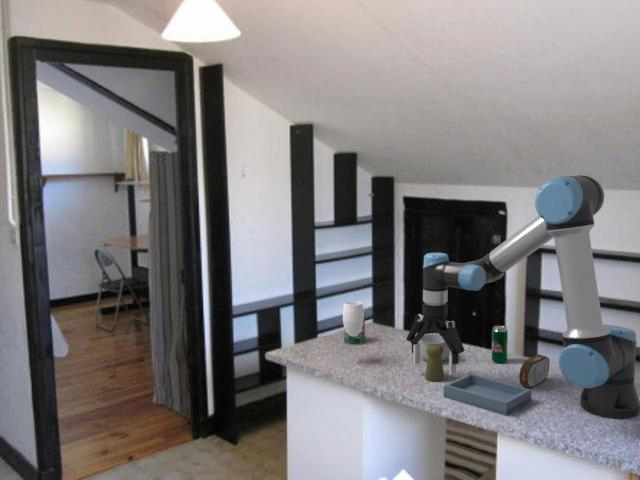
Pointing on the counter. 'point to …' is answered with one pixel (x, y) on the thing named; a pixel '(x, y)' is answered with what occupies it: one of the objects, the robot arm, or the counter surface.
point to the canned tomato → (357, 339)
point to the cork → (434, 363)
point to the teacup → (433, 339)
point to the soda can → (499, 344)
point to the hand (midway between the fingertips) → (434, 368)
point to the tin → (534, 371)
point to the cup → (353, 317)
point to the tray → (487, 394)
